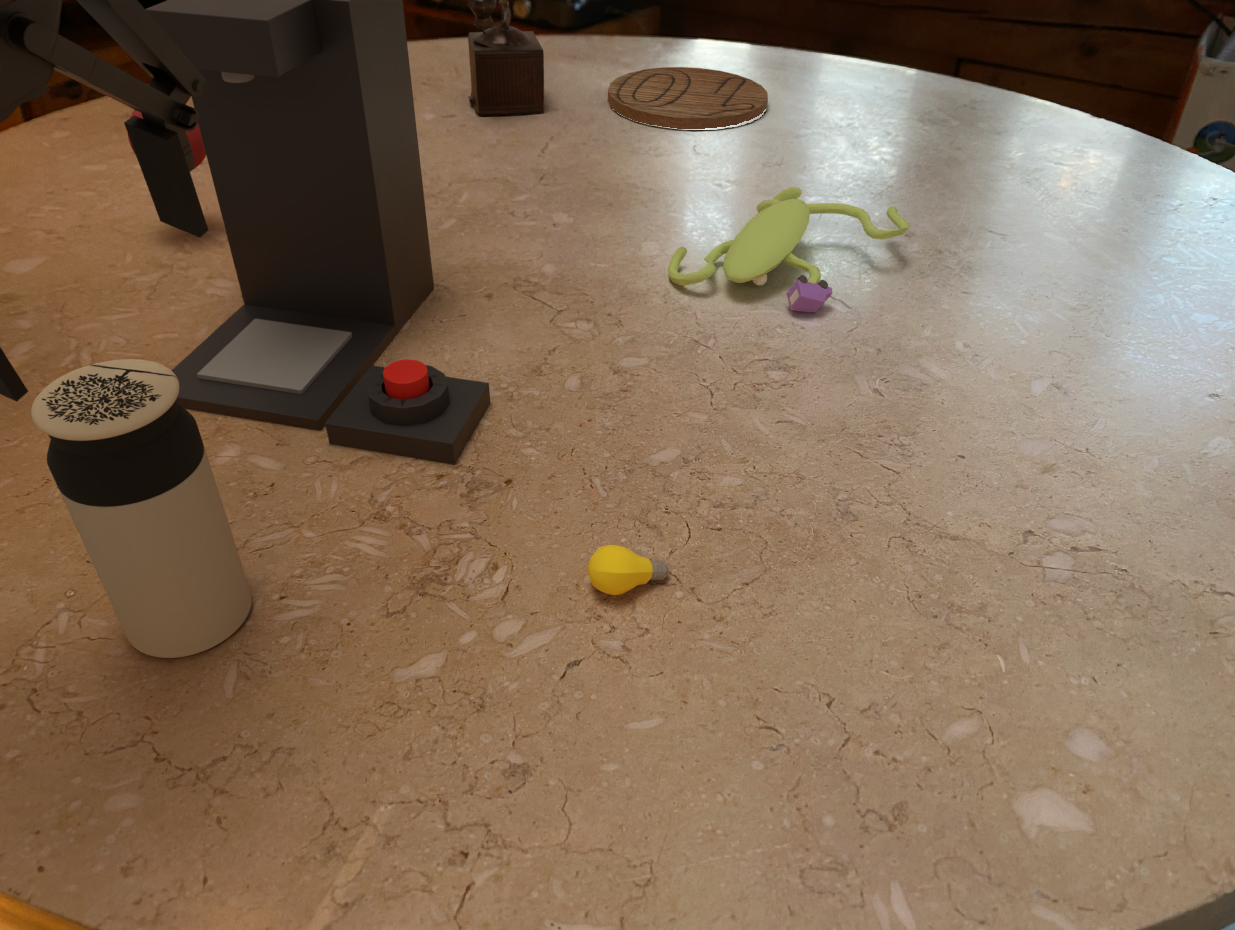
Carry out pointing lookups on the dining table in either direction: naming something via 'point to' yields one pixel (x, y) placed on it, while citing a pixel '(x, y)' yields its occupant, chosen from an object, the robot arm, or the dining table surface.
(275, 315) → the coffee maker
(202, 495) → the travel mug
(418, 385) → the button
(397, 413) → the panel
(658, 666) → the dining table surface
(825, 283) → the figurine
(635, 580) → the light bulb
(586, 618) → the dining table surface
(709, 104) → the trivet
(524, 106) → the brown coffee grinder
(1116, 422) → the dining table surface
